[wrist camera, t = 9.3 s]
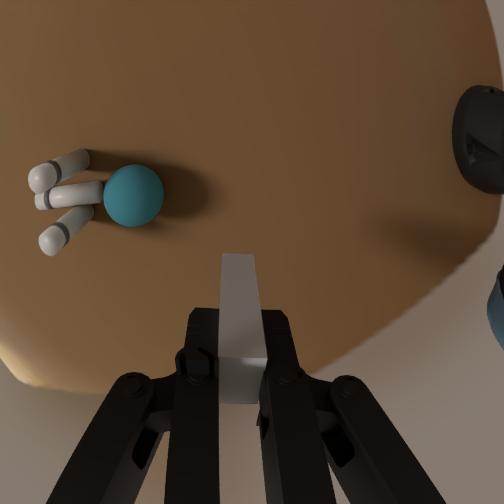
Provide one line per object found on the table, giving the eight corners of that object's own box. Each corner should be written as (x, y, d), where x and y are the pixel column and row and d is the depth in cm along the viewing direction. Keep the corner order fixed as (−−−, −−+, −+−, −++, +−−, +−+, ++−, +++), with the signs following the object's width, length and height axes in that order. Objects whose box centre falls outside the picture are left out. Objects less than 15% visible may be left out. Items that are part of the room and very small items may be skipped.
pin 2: (96, 204, 28) (59, 237, 21) (92, 223, 29) (57, 260, 22) (78, 197, 28) (39, 228, 20) (75, 216, 29) (37, 250, 21)
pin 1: (93, 152, 26) (50, 170, 18) (87, 173, 27) (46, 198, 19) (75, 146, 25) (30, 162, 18) (70, 167, 26) (26, 189, 19)
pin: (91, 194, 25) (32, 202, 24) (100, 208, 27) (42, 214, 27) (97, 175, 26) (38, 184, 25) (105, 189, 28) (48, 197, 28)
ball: (92, 176, 25) (143, 164, 29) (104, 233, 27) (153, 217, 30) (107, 167, 20) (168, 154, 24) (122, 236, 22) (180, 217, 26)
